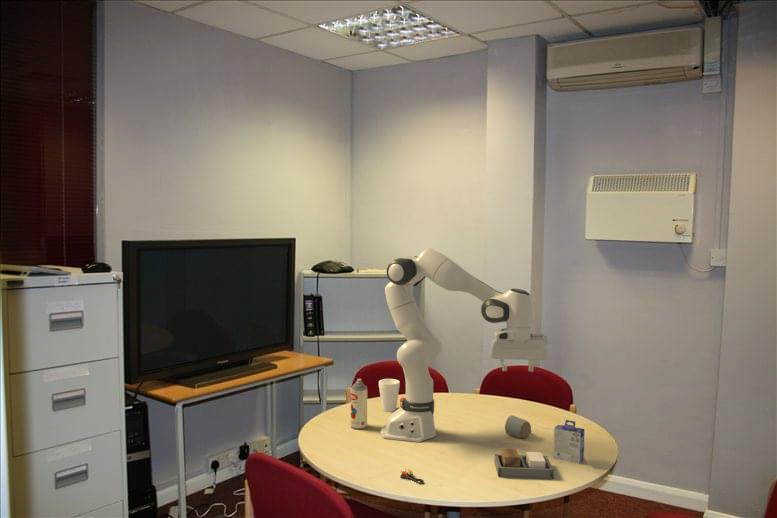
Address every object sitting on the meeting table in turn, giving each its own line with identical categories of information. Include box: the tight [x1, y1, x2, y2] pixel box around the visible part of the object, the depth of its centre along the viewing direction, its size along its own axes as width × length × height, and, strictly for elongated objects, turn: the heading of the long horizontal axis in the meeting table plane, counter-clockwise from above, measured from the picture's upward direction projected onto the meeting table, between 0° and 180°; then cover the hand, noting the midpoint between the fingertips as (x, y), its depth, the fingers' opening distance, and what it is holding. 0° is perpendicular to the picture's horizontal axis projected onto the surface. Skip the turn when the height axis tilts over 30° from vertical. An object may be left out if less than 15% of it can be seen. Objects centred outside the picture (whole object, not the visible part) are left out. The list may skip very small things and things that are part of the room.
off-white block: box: [525, 451, 546, 468], centre depth 206 cm, size 5×8×5 cm, turn 176°
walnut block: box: [501, 447, 520, 468], centre depth 206 cm, size 5×8×6 cm, turn 176°
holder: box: [493, 453, 555, 480], centre depth 206 cm, size 18×12×4 cm, turn 86°
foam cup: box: [378, 378, 401, 413], centre depth 274 cm, size 10×9×13 cm
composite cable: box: [400, 467, 425, 485], centre depth 200 cm, size 10×5×2 cm, turn 33°
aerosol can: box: [350, 378, 368, 431], centre depth 250 cm, size 7×7×20 cm
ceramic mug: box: [504, 415, 532, 440], centre depth 243 cm, size 11×8×8 cm
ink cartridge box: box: [552, 419, 585, 465], centre depth 216 cm, size 10×6×14 cm, turn 58°
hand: (517, 371), depth 221 cm, fingers open, 8 cm apart
